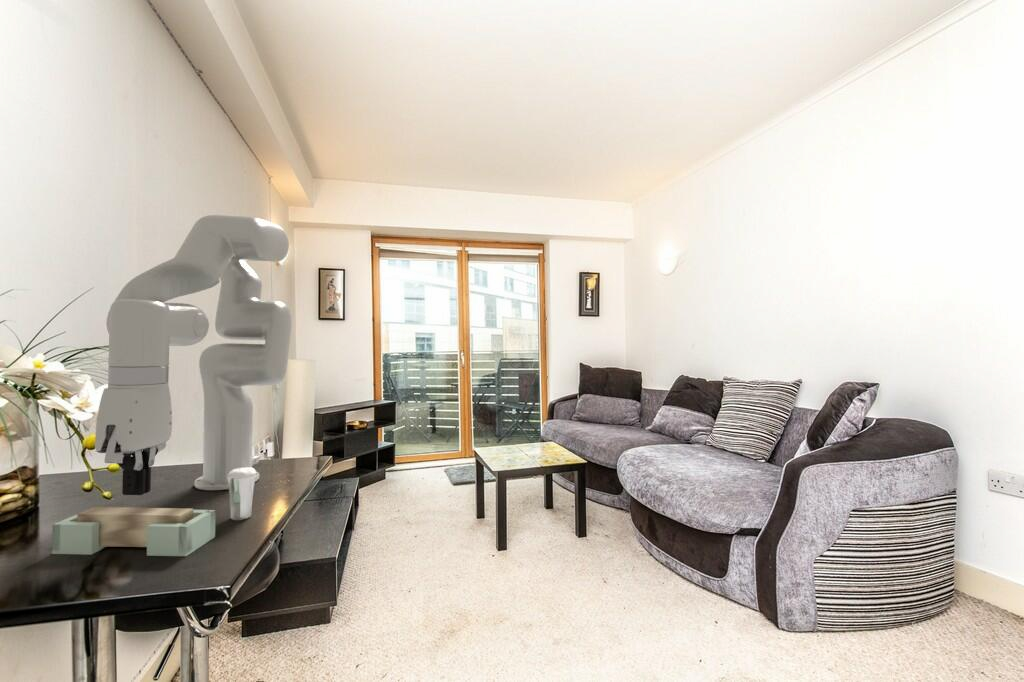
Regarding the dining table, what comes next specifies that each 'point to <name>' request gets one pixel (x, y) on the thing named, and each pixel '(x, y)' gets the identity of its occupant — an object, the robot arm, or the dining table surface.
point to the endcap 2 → (181, 535)
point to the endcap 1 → (75, 537)
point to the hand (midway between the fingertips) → (136, 493)
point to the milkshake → (241, 491)
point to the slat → (130, 523)
